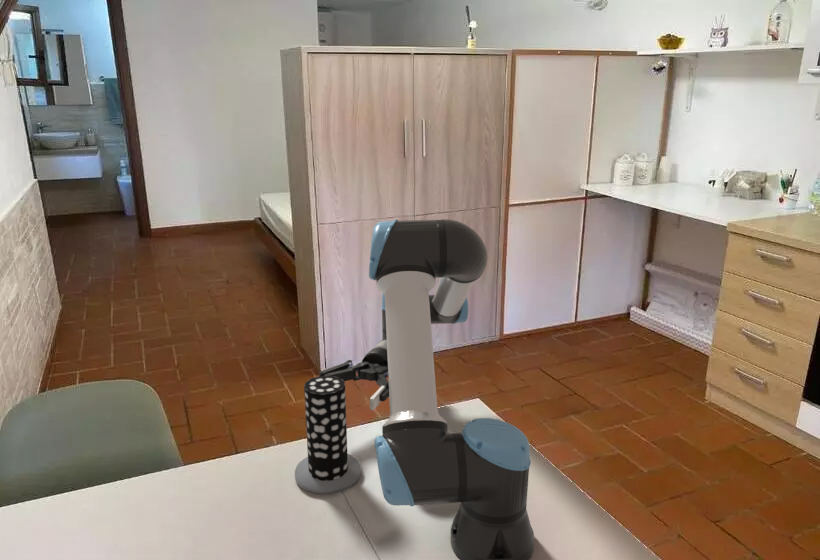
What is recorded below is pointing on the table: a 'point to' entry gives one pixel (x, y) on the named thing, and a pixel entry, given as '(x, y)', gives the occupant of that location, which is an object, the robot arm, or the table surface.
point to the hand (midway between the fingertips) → (343, 399)
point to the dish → (327, 486)
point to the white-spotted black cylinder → (326, 427)
